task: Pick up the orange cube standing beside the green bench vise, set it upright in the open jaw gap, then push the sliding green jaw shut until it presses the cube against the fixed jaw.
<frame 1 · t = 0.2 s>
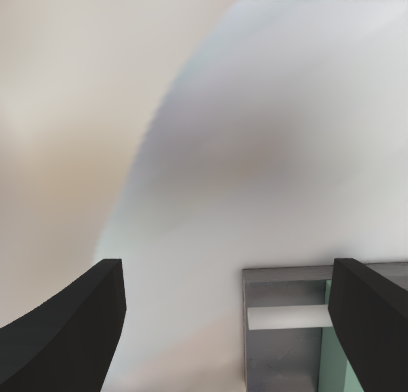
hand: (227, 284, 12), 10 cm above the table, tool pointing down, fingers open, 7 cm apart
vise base: (386, 324, 25), on the table
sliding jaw: (306, 369, 21), point 4 cm above the table, slide at 0.0 cm
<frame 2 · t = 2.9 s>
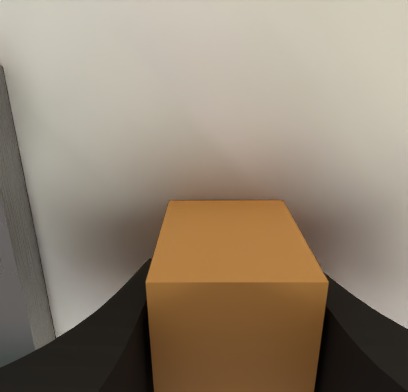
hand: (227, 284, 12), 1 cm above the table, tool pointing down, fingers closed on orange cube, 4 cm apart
orange cube: (225, 262, 13), on the table, touching gripper
when the fingers open (4 cm above the table, at t = 6.2 s): orange cube stays where it is, resting on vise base.
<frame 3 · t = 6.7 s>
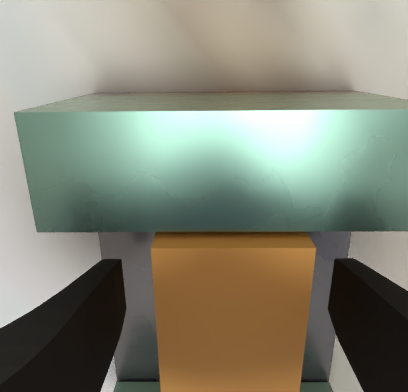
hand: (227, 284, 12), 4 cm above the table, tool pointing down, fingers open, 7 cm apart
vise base: (221, 307, 17), on the table
orange cube: (223, 242, 14), point 1 cm above the table, touching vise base
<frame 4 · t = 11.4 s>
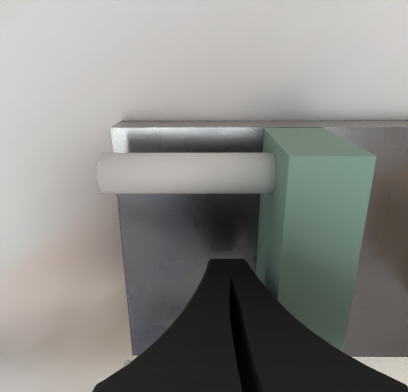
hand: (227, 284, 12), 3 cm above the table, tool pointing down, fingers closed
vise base: (363, 238, 15), on the table
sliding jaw: (219, 288, 12), point 4 cm above the table, slide at 0.2 cm, touching gripper
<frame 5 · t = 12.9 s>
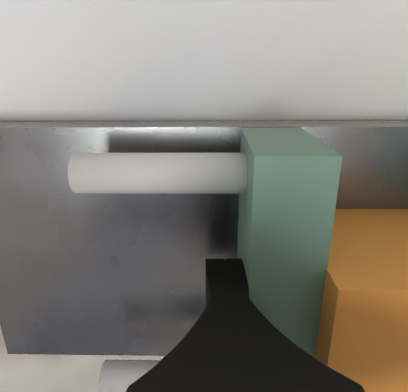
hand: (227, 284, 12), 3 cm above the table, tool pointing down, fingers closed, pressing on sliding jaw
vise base: (233, 238, 15), on the table
orange cube: (353, 256, 14), point 2 cm above the table, touching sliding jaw, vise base
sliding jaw: (195, 288, 12), point 4 cm above the table, slide at 5.0 cm, touching gripper, orange cube
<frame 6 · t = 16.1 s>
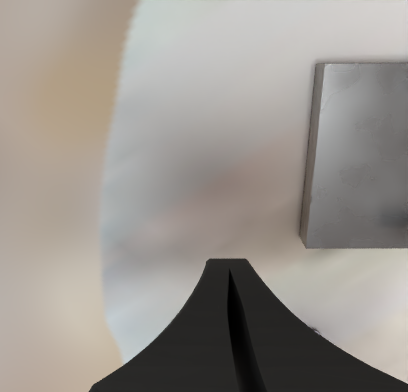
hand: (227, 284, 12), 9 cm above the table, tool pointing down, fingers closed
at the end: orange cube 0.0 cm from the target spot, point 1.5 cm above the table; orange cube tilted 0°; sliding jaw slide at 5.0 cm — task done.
